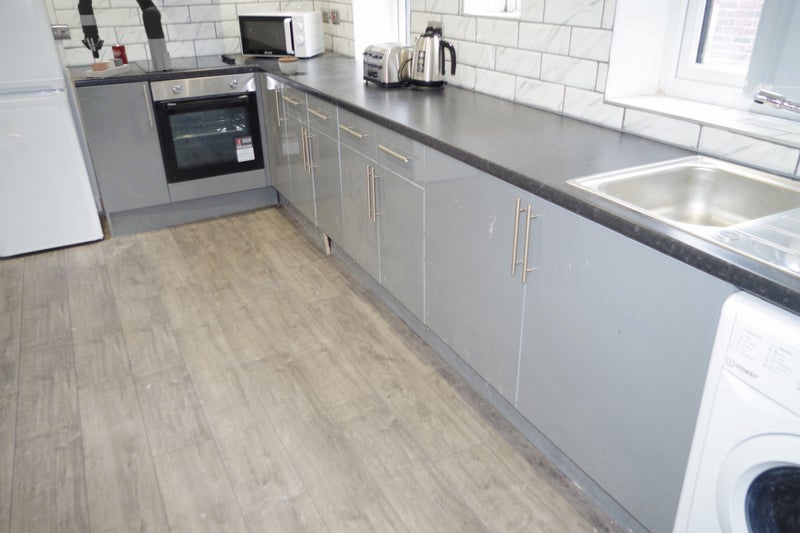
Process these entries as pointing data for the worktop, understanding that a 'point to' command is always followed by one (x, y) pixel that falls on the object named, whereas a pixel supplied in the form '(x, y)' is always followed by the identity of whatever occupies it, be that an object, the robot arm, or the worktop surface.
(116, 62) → the charcoal key
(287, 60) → the lidded jar
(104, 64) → the terracotta key
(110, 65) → the ivory key
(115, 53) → the soda can
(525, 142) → the worktop surface
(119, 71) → the keypad housing
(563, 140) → the worktop surface
